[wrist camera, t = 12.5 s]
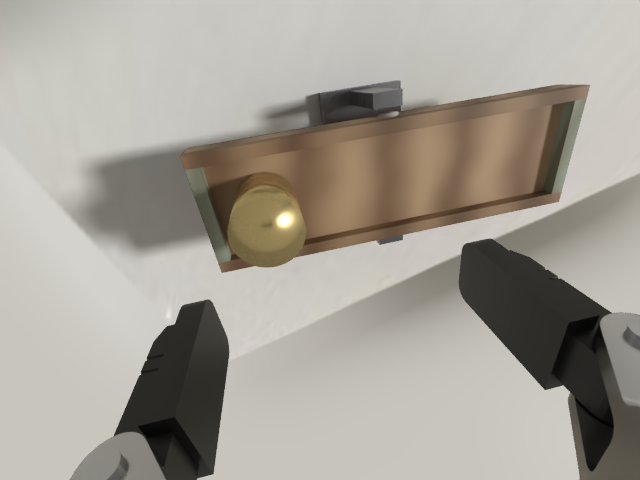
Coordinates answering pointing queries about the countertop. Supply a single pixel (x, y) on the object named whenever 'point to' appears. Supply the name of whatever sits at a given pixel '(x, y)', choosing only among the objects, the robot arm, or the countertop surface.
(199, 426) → the robot arm
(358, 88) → the pivot stand
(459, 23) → the countertop surface
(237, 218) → the cylinder
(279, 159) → the beam
